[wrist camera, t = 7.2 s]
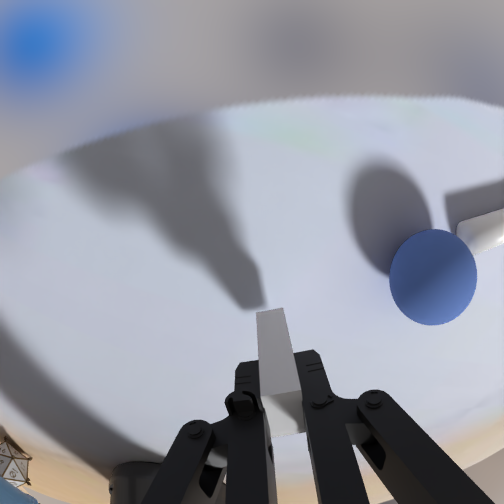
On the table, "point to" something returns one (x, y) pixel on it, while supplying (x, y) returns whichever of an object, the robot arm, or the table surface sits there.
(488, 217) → the pin
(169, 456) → the robot arm
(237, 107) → the table surface
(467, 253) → the ball
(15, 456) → the game die
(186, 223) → the table surface
